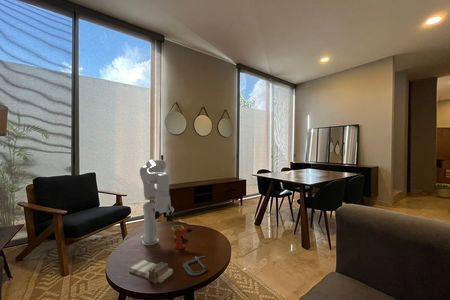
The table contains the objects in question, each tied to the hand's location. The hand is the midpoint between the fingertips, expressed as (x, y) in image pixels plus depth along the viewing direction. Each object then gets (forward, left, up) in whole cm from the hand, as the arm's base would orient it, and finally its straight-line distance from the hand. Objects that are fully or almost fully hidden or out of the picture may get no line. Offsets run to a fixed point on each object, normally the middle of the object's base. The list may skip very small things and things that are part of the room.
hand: (162, 219), depth 139 cm
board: (+1, -11, -28) cm, 30 cm away
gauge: (+9, -13, -28) cm, 32 cm away
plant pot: (-16, +36, -28) cm, 49 cm away
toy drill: (0, +25, -28) cm, 38 cm away
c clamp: (+22, +7, -29) cm, 37 cm away
